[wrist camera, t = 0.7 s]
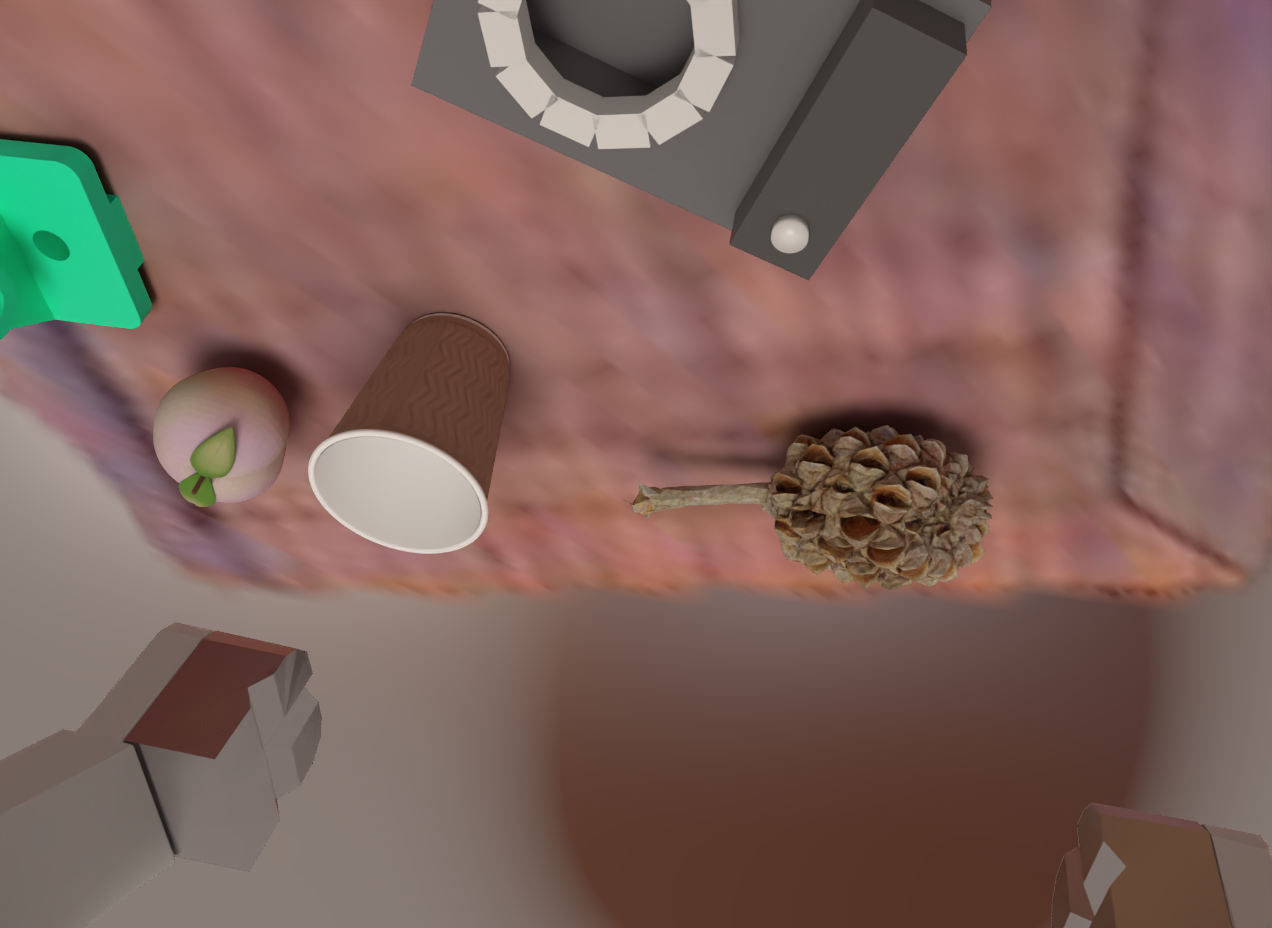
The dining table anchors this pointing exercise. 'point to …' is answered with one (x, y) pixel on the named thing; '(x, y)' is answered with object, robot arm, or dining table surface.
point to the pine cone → (862, 506)
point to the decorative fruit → (222, 435)
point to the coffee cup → (419, 440)
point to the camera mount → (64, 242)
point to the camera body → (711, 97)
